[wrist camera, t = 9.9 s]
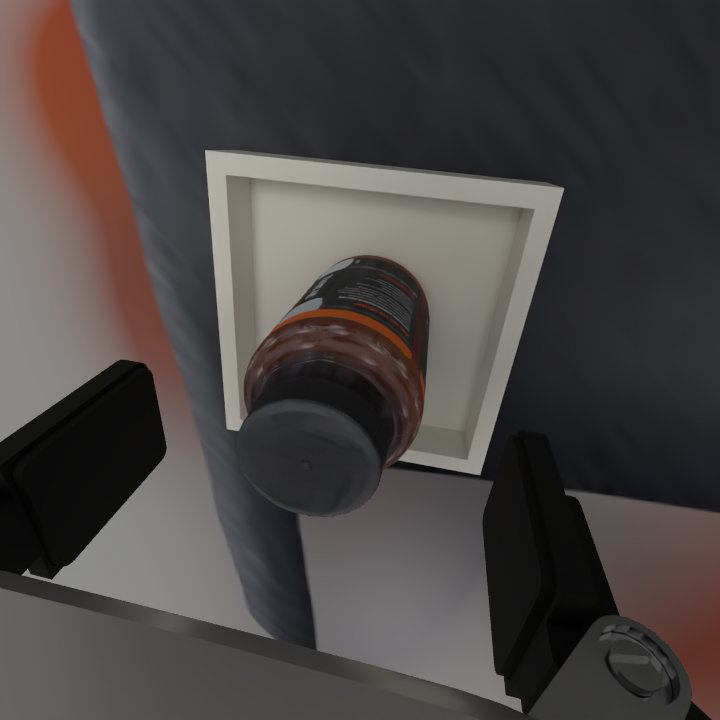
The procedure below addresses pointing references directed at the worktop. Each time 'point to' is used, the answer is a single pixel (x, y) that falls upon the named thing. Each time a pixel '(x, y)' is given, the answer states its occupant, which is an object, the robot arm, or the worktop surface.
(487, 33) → the worktop surface
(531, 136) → the worktop surface
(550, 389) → the worktop surface
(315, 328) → the supplement bottle
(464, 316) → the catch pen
